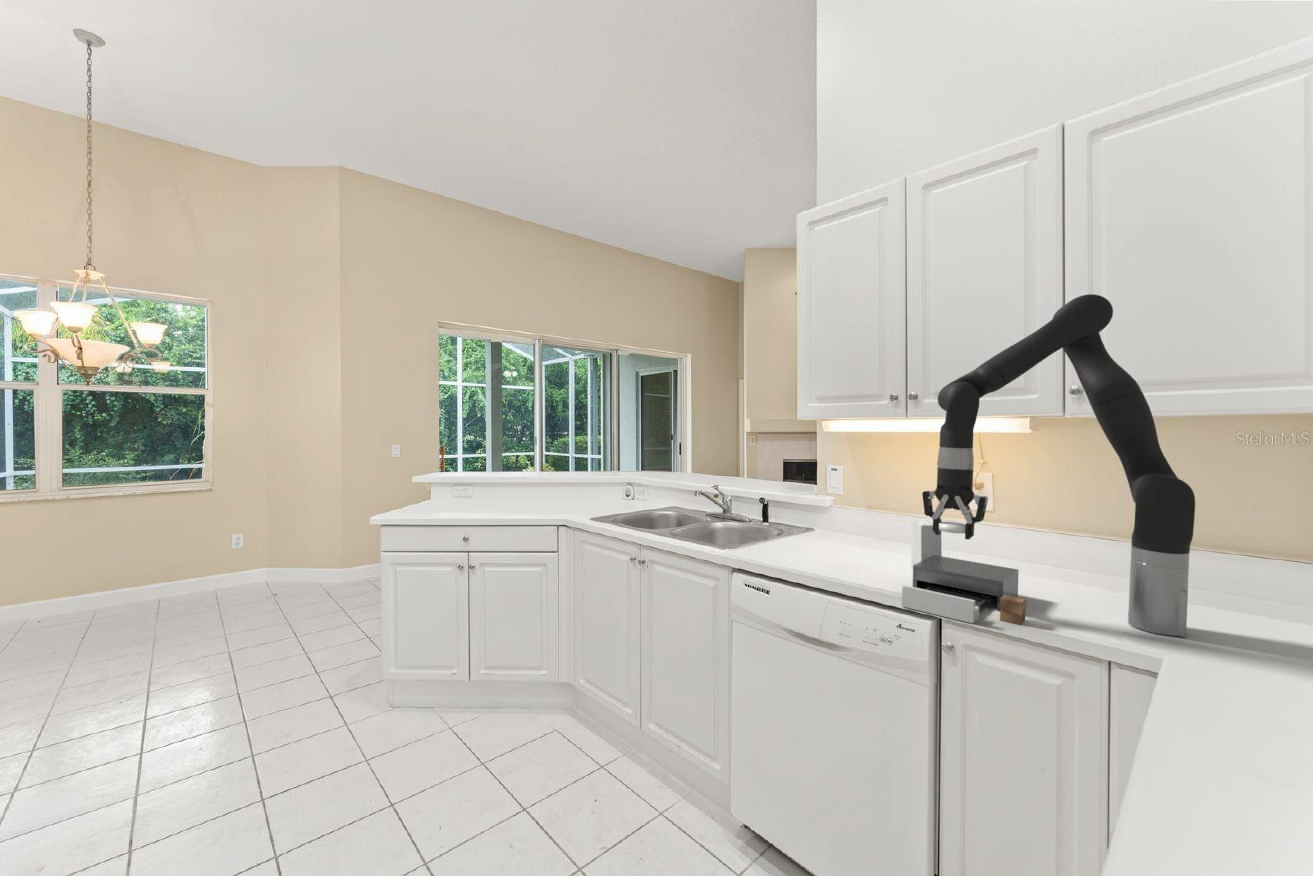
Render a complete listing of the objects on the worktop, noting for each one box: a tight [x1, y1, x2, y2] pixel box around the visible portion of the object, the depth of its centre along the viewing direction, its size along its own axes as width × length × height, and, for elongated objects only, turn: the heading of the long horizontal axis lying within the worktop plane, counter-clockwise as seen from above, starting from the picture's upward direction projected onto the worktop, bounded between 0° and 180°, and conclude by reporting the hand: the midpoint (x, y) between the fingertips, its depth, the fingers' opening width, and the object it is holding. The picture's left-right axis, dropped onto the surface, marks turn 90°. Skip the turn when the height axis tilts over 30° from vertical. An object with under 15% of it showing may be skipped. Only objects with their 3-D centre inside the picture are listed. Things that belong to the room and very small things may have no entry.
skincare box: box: [910, 520, 943, 571], centre depth 159 cm, size 8×6×15 cm
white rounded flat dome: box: [939, 521, 966, 534], centre depth 130 cm, size 6×6×2 cm
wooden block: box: [999, 594, 1027, 626], centre depth 121 cm, size 4×4×5 cm
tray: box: [901, 584, 990, 624], centre depth 130 cm, size 15×18×5 cm
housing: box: [912, 555, 1020, 612], centre depth 139 cm, size 20×16×7 cm
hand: (952, 536), depth 130 cm, fingers closed on white rounded flat dome, 6 cm apart
